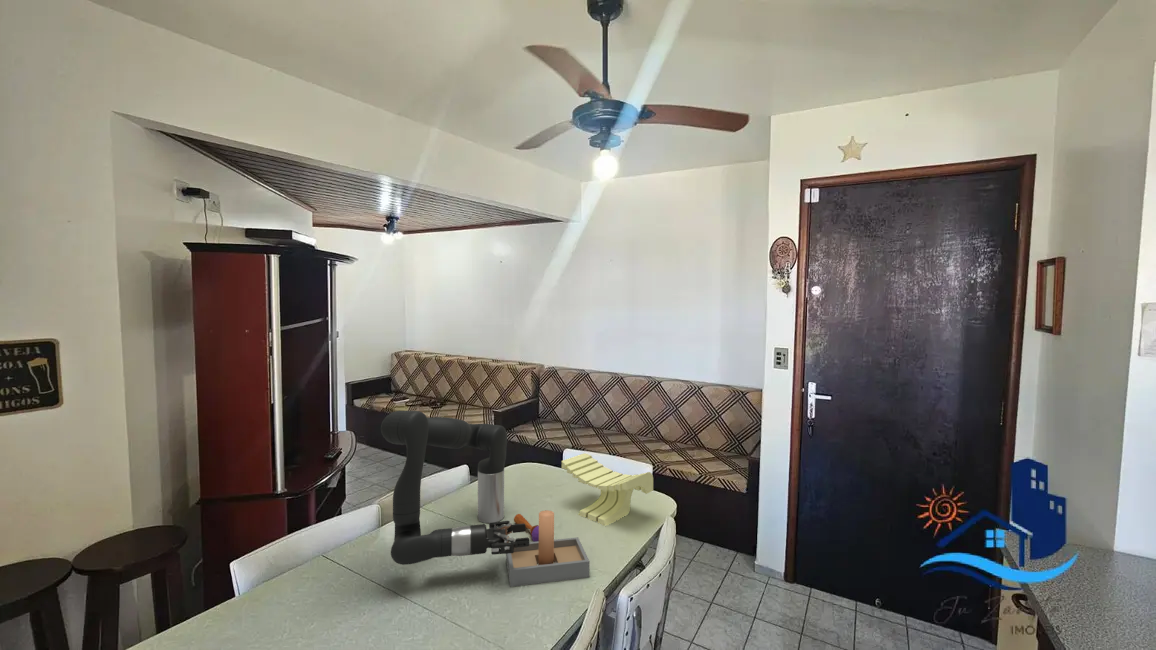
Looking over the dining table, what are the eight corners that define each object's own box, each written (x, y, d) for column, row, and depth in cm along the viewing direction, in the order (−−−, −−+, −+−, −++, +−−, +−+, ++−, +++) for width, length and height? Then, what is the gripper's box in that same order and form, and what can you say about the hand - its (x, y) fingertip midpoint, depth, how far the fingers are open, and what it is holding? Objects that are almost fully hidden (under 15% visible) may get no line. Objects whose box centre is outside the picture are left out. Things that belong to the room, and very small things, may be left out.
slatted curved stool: (652, 519, 169) (653, 469, 168) (625, 534, 157) (626, 481, 157) (589, 495, 189) (589, 451, 189) (561, 507, 178) (561, 460, 177)
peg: (537, 564, 138) (537, 511, 138) (552, 563, 139) (552, 509, 139) (539, 573, 134) (540, 517, 133) (554, 571, 135) (555, 516, 134)
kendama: (527, 509, 167) (555, 528, 150) (524, 527, 166) (552, 547, 149) (511, 510, 164) (538, 529, 147) (509, 528, 163) (535, 549, 146)
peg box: (505, 559, 141) (506, 544, 141) (577, 551, 146) (578, 537, 146) (510, 586, 128) (510, 570, 127) (589, 577, 133) (589, 561, 132)
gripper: (469, 539, 124) (530, 533, 128) (468, 515, 138) (524, 510, 142) (469, 567, 125) (530, 560, 128) (468, 540, 138) (524, 535, 142)
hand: (527, 534), depth 135 cm, fingers open, 8 cm apart
